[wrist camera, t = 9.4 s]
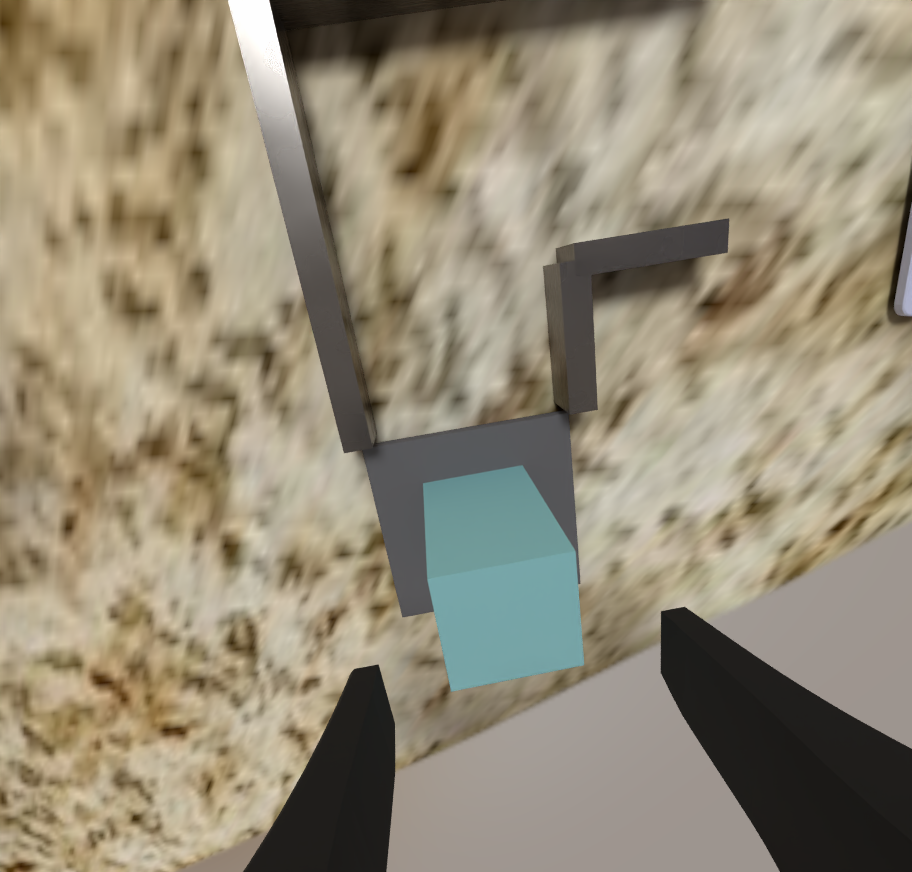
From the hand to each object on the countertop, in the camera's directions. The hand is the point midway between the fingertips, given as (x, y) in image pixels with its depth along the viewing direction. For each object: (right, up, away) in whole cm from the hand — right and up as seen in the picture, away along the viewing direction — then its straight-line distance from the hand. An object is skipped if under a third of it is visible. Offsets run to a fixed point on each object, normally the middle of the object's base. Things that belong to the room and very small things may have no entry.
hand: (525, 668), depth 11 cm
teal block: (-1, +2, +7) cm, 7 cm away
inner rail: (+4, +10, +5) cm, 12 cm away
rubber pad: (-1, +2, +7) cm, 8 cm away
